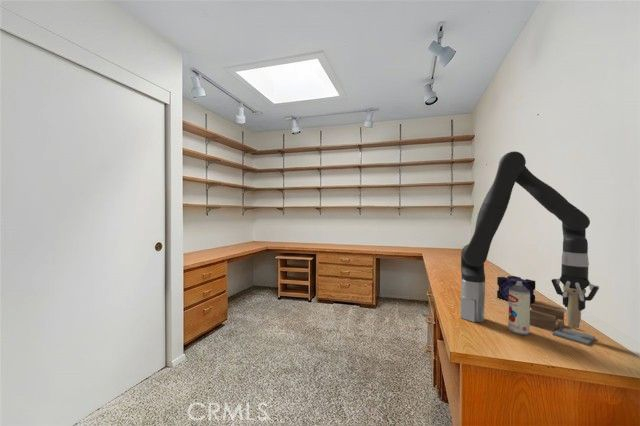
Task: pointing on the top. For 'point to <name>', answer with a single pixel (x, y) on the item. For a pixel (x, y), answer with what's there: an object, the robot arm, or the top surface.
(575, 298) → the handle
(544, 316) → the frame
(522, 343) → the top surface
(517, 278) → the energy cube
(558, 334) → the mat
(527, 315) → the aerosol can
